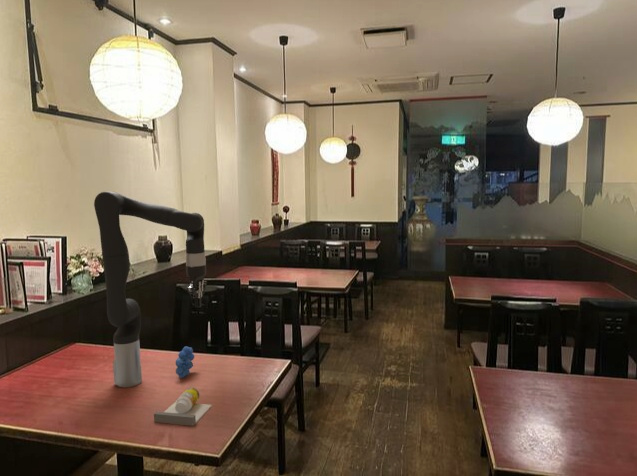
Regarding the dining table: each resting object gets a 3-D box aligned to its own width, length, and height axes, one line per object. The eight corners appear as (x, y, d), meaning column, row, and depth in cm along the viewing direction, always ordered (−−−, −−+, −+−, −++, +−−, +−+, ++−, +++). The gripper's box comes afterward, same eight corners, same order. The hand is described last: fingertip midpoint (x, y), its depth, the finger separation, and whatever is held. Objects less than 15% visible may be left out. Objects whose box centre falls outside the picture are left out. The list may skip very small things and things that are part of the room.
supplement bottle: (196, 404, 160) (184, 419, 150) (182, 396, 160) (169, 410, 150) (202, 391, 159) (191, 405, 149) (189, 383, 159) (176, 397, 149)
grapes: (184, 369, 190) (183, 341, 188) (198, 370, 188) (197, 343, 187) (168, 380, 179) (166, 351, 177) (183, 382, 177) (181, 353, 175)
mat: (154, 421, 147) (153, 413, 147) (175, 402, 160) (175, 395, 160) (193, 425, 144) (192, 417, 144) (211, 406, 157) (211, 398, 157)
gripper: (195, 261, 184) (197, 302, 186) (178, 266, 171) (181, 311, 173) (212, 261, 182) (214, 303, 184) (196, 267, 169) (199, 312, 171)
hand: (198, 307), depth 178 cm, fingers closed
